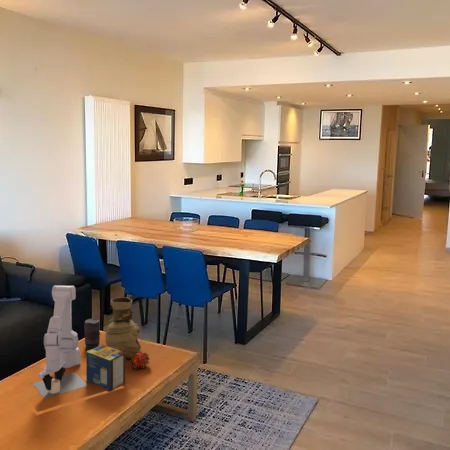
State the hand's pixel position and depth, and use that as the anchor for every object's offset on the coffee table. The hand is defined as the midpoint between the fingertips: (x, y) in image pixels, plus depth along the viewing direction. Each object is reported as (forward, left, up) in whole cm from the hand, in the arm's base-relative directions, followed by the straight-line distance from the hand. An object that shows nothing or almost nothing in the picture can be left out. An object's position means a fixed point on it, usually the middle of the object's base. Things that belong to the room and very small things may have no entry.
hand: (53, 386), depth 220 cm
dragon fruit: (-44, 0, -3) cm, 44 cm away
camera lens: (-35, -36, -3) cm, 50 cm away
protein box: (-23, +5, -3) cm, 24 cm away
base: (-4, -3, -3) cm, 6 cm away
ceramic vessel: (-45, -19, -3) cm, 49 cm away
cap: (0, +1, -2) cm, 2 cm away
